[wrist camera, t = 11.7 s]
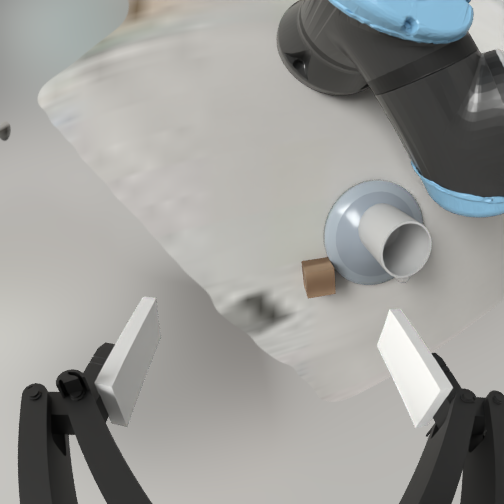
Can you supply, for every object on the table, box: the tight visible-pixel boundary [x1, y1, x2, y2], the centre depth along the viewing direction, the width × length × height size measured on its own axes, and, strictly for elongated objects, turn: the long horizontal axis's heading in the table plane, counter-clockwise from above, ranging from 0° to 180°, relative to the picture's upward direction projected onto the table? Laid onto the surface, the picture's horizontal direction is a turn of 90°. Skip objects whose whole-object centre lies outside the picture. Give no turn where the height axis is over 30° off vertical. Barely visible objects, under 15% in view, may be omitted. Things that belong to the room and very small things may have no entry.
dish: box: [324, 180, 423, 285], centre depth 41 cm, size 16×16×1 cm
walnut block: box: [302, 257, 335, 298], centre depth 42 cm, size 4×4×4 cm
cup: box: [358, 203, 432, 283], centre depth 36 cm, size 7×10×9 cm
